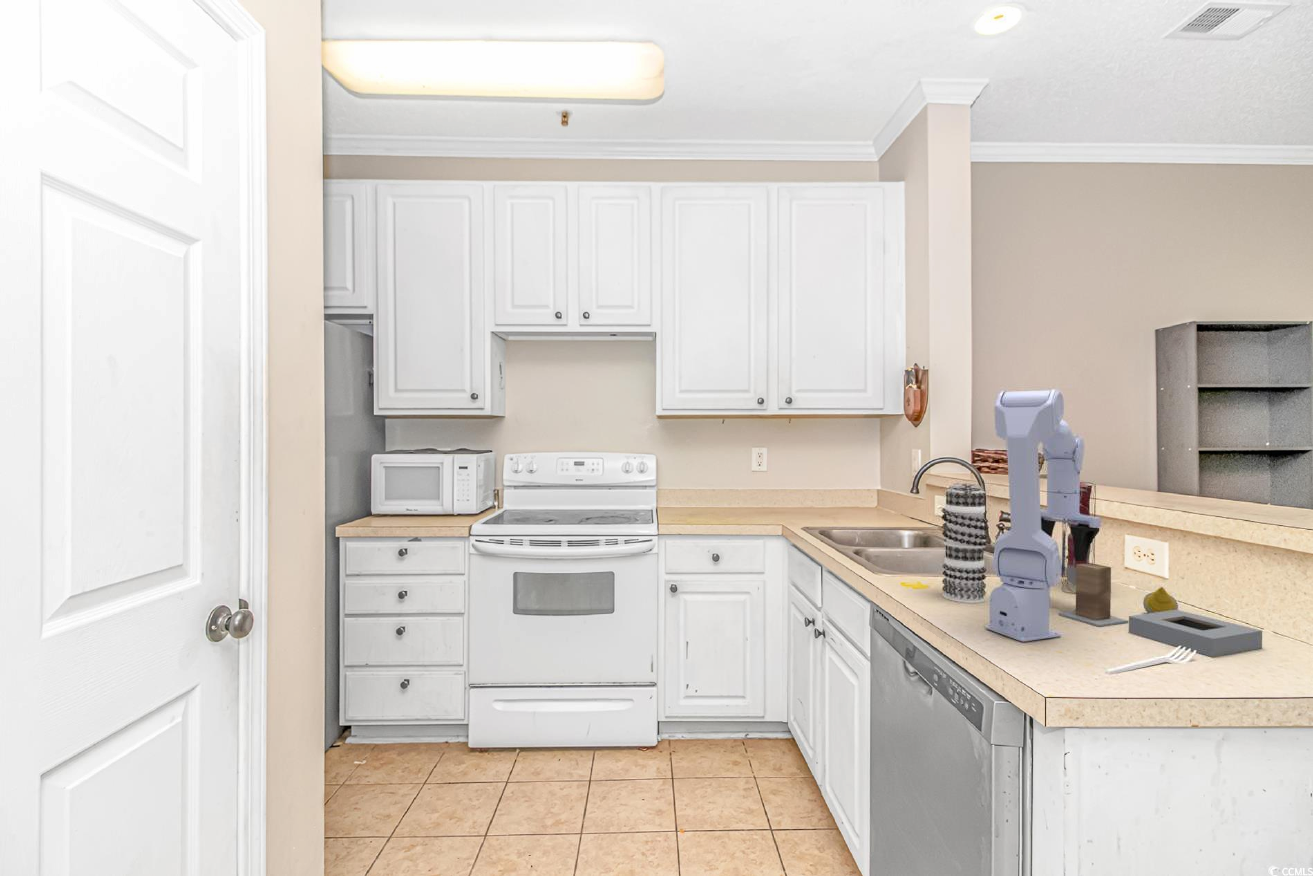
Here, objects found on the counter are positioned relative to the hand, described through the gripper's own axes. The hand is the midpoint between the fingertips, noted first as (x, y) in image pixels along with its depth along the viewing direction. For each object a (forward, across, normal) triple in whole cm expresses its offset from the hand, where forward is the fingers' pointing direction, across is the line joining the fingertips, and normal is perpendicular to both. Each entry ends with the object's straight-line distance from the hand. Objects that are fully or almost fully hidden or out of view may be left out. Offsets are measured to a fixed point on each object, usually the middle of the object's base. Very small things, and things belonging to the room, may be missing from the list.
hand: (1062, 557), depth 129 cm
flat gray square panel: (+10, -8, +2) cm, 13 cm away
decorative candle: (+11, +12, +14) cm, 21 cm away
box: (+11, +8, -16) cm, 21 cm away
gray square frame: (+10, -22, -2) cm, 25 cm away
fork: (+11, -28, +17) cm, 35 cm away
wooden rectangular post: (+10, -8, +2) cm, 13 cm away
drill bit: (+11, -12, -12) cm, 20 cm away
